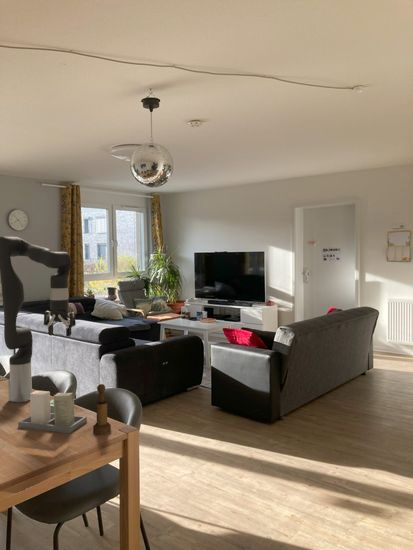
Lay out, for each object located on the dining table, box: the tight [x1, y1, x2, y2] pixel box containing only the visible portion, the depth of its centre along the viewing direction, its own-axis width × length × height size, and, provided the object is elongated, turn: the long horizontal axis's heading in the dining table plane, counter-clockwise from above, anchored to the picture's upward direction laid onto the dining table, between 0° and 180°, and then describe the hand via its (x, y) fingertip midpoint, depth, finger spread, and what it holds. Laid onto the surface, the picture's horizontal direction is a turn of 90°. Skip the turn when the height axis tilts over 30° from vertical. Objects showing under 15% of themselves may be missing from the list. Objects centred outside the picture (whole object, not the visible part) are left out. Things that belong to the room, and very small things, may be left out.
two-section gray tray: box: [17, 413, 88, 434], centre depth 175 cm, size 22×12×4 cm, turn 74°
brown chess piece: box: [92, 383, 112, 436], centre depth 171 cm, size 7×6×18 cm
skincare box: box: [52, 392, 75, 427], centre depth 174 cm, size 6×4×12 cm
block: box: [29, 390, 51, 424], centre depth 177 cm, size 6×4×12 cm, turn 74°
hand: (59, 335), depth 196 cm, fingers open, 8 cm apart
